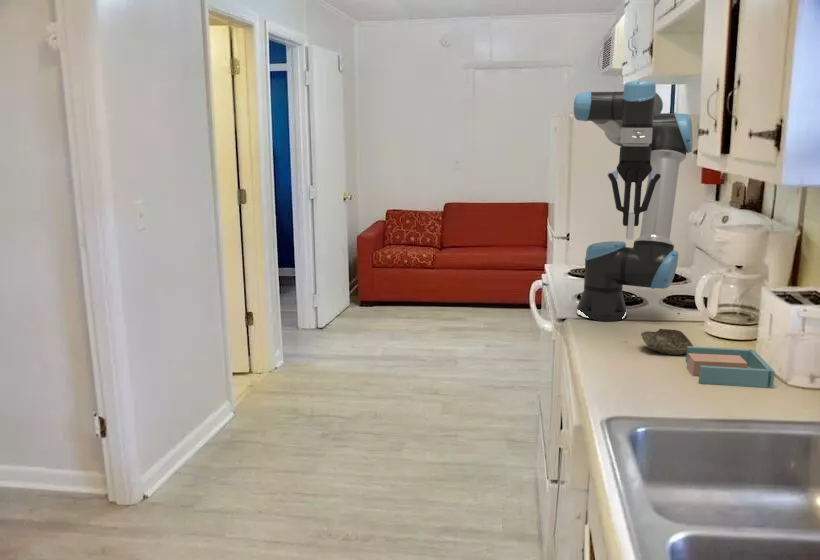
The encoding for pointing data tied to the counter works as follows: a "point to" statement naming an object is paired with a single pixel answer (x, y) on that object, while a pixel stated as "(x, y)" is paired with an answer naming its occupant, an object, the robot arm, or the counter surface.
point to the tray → (735, 369)
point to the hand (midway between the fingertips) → (629, 238)
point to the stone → (667, 341)
